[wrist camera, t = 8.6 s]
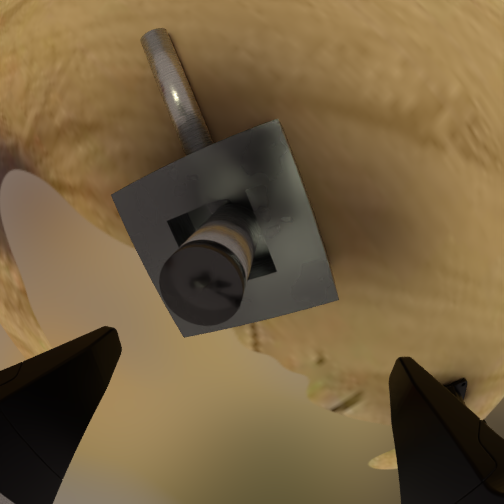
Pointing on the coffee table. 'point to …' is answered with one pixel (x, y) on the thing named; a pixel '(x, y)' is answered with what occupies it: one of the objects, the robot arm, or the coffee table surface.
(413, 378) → the robot arm
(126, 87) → the coffee table surface
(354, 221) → the coffee table surface
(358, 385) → the coffee table surface
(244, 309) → the chuck block
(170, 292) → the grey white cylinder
